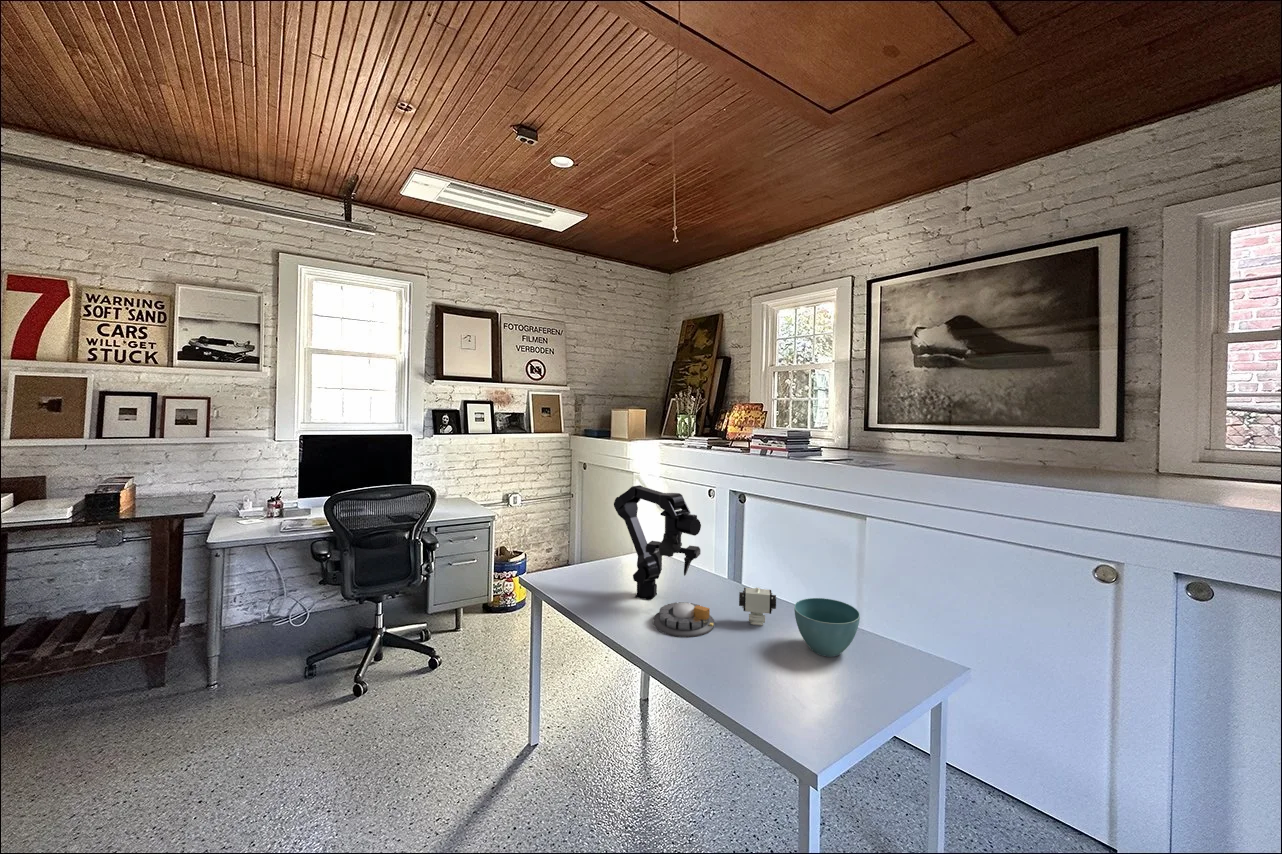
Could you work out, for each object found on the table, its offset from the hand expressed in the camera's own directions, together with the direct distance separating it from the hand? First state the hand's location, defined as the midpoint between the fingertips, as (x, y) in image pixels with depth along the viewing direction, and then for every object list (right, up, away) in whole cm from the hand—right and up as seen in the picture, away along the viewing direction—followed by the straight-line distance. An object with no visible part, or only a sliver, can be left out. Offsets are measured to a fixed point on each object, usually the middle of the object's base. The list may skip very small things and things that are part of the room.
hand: (672, 573), depth 186 cm
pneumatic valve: (+27, -13, -12) cm, 32 cm away
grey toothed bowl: (+3, -12, -13) cm, 18 cm away
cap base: (+3, -13, -12) cm, 18 cm away
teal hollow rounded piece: (+43, -15, -30) cm, 55 cm away
